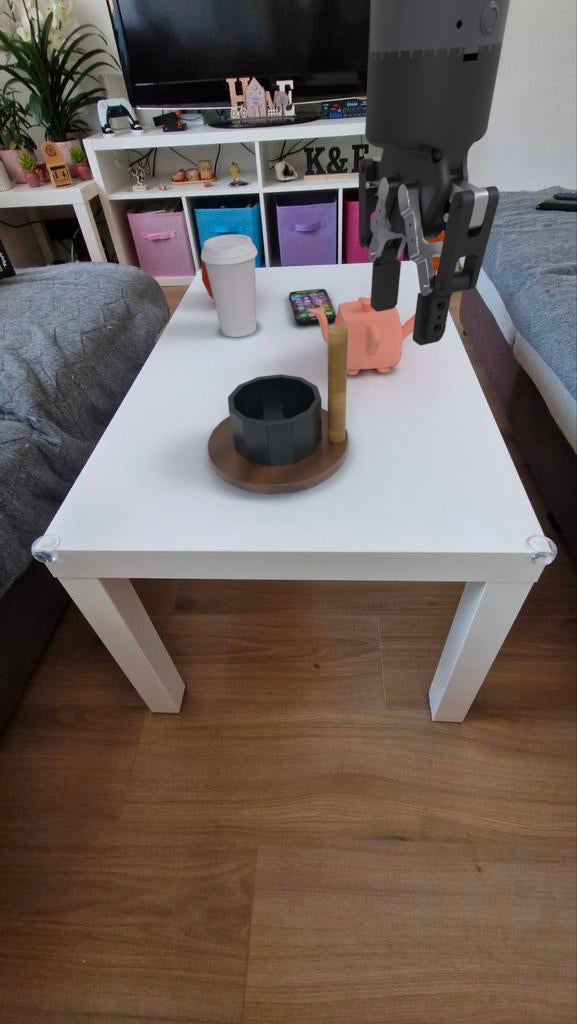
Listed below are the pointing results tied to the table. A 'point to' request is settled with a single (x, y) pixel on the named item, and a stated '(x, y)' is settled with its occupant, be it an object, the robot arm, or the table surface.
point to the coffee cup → (232, 282)
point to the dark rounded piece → (284, 429)
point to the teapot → (369, 334)
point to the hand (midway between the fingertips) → (404, 323)
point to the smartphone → (311, 306)
